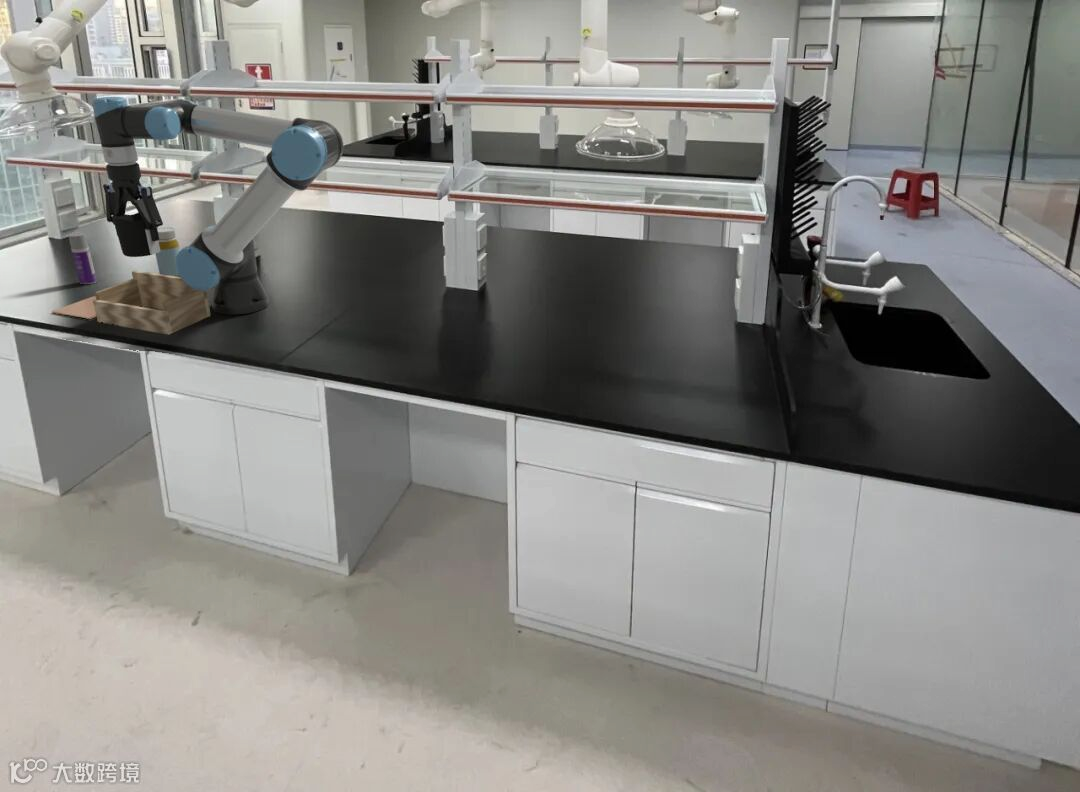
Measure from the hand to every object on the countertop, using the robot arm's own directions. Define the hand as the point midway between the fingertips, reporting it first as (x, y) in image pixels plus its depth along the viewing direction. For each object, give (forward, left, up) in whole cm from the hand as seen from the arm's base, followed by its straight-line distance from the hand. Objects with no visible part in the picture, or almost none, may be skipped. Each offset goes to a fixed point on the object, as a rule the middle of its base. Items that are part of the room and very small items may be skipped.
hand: (141, 251), depth 211 cm
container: (+24, -39, -19) cm, 50 cm away
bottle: (0, -39, -19) cm, 44 cm away
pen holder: (0, 0, -1) cm, 1 cm away
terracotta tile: (+18, -13, -19) cm, 29 cm away
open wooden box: (0, 0, -19) cm, 19 cm away
